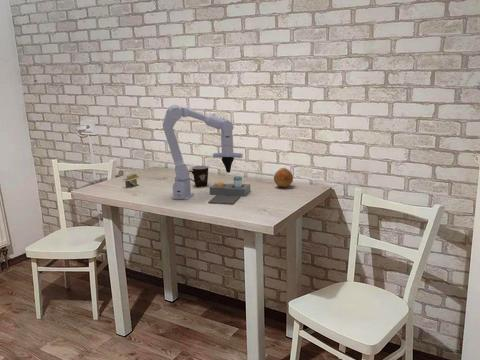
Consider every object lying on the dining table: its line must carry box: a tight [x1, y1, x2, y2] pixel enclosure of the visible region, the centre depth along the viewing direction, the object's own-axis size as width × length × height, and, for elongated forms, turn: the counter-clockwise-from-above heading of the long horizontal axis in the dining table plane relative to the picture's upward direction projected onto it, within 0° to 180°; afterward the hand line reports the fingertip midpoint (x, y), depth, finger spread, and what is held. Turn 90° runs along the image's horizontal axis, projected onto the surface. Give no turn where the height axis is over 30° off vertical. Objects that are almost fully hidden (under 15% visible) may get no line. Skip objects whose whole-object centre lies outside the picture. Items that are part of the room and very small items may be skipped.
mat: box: [207, 195, 241, 206], centre depth 215 cm, size 12×12×1 cm
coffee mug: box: [189, 165, 209, 188], centre depth 242 cm, size 12×9×10 cm
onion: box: [273, 167, 294, 189], centre depth 233 cm, size 10×10×10 cm
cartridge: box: [233, 176, 243, 188], centre depth 225 cm, size 4×4×8 cm
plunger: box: [216, 182, 225, 187], centre depth 228 cm, size 4×4×4 cm
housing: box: [209, 182, 251, 197], centre depth 227 cm, size 10×18×4 cm, turn 75°
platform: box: [122, 173, 140, 189], centre depth 245 cm, size 12×18×7 cm, turn 146°
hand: (228, 172), depth 225 cm, fingers closed
